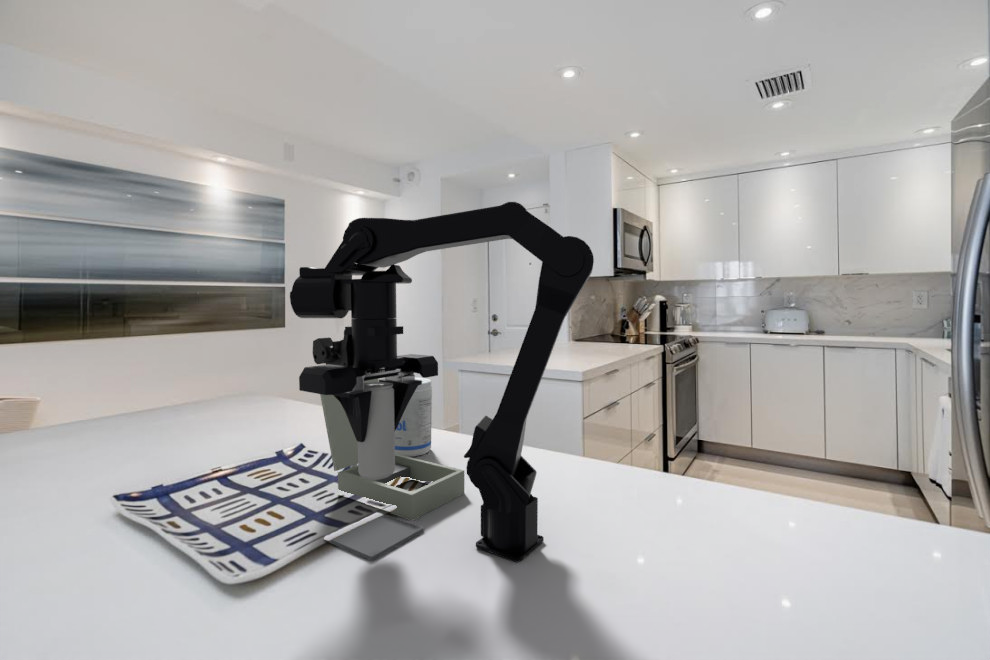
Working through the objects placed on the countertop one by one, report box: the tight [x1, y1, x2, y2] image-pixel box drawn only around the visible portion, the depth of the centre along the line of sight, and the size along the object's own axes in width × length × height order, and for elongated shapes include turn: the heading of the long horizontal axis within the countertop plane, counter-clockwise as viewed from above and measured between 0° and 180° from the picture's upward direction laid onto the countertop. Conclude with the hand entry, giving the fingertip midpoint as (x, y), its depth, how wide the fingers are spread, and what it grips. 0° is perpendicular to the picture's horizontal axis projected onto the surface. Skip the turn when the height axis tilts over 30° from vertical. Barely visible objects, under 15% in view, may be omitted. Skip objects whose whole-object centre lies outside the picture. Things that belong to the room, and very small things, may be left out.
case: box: [337, 453, 465, 521], centre depth 78 cm, size 16×12×4 cm
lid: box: [319, 379, 379, 472], centre depth 83 cm, size 16×12×1 cm
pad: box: [328, 514, 424, 562], centre depth 64 cm, size 9×9×1 cm
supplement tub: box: [395, 376, 433, 458], centre depth 100 cm, size 10×10×15 cm
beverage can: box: [358, 382, 395, 480], centre depth 64 cm, size 5×5×12 cm
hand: (376, 437), depth 64 cm, fingers closed on beverage can, 5 cm apart
